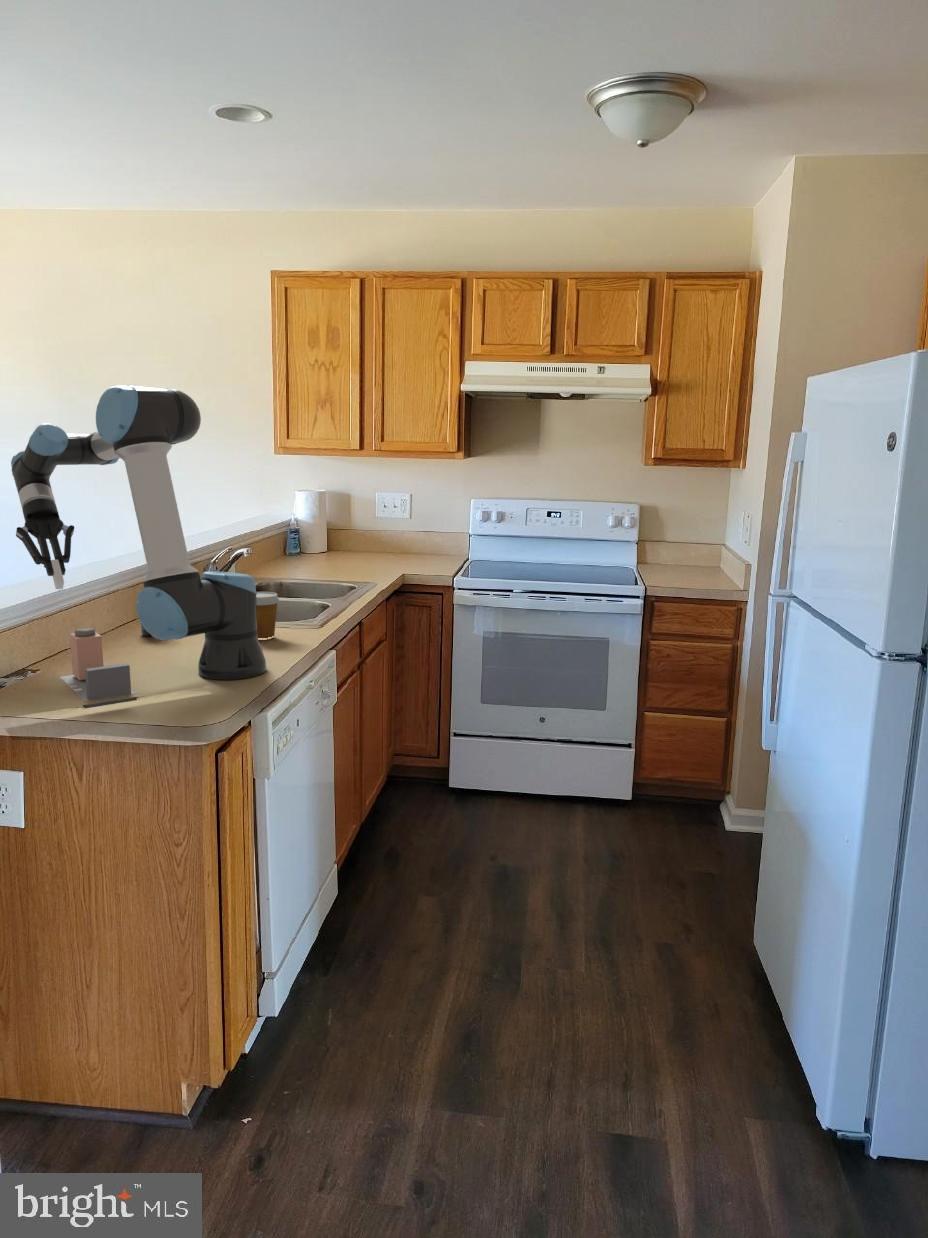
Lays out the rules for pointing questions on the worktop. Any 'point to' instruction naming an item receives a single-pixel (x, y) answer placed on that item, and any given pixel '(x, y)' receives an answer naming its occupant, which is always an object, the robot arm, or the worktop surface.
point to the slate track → (102, 684)
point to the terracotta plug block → (85, 651)
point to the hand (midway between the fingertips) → (60, 585)
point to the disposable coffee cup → (266, 613)
